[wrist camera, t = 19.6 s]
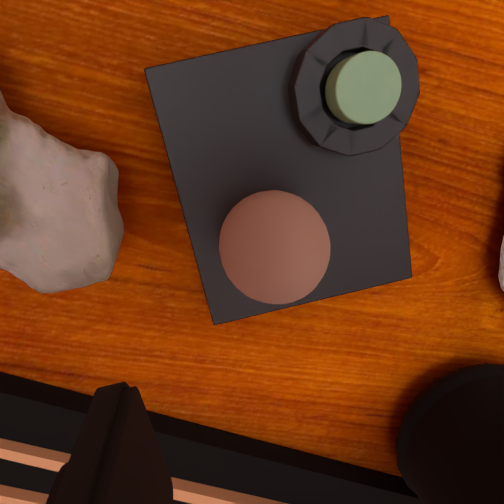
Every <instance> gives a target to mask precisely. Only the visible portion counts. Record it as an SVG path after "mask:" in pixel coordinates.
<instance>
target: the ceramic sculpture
mask: <svg viewBox="0 0 504 504" xmlns="http://www.w3.org/2000/svg"><path fill="white" fill-rule="evenodd" d="M118 176H119V173H118V168H117V167H116V165H115V163H114V162H113V161H112V160H111V159H110V157H109V156H107V155H106V154H104V153H102V152H93V151H89V150H79V149H76V148H74V147H72V146H71V145H69V144H67V143H64V142H62V141H60V140H59V139H57V138H55V137H54V136H52V135H50V134H48V133H46V132H45V131H44V130H43V129H42V127H41V126H39V125H38V124H35V123H33V122H32V121H31V120H30V119H29V118H28V117H25V116H22V115H18V114H16V113H14V112H13V111H11V110H10V109H9V107H8V106H7V104H6V102H5V100H4V98H3V95H2V92H1V90H0V269H4V270H7V271H9V272H10V273H12V274H13V275H14V276H15V277H17V278H18V279H20V280H22V281H23V282H25V283H26V284H27V285H28V286H29V287H30V288H33V289H35V290H36V291H38V292H40V293H55V292H60V291H64V290H69V289H76V288H82V287H86V286H88V285H91V284H94V283H97V282H103V281H105V280H107V279H108V278H109V277H110V275H111V273H112V271H113V268H114V264H115V261H116V259H117V255H118V252H119V248H120V244H121V242H122V239H123V234H124V223H123V220H122V217H121V214H120V212H119V209H118Z"/></svg>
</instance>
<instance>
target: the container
mask: <svg viewBox="0 0 504 504" xmlns="http://www.w3.org/2000/svg"><path fill="white" fill-rule="evenodd" d="M396 453H397V465H398V469H399V471H400V473H401V475H402V477H403V479H404V480H405V482H406V484H407V486H408V487H409V488H410V489H411V490H412V491H413V492H415V493H416V494H417V495H418V497H419V499H420V501H421V502H422V504H504V365H498V364H487V363H484V364H479V365H474V366H469V367H464V368H460V369H457V370H455V371H453V372H451V373H449V374H447V375H445V376H443V377H441V378H439V379H437V380H435V381H434V382H433V383H432V384H430V385H429V386H428V387H427V388H426V389H425V390H424V391H422V392H421V393H420V394H419V395H418V396H417V397H416V398H415V400H414V401H413V403H412V404H411V406H410V407H409V409H408V410H407V412H406V413H405V415H404V416H403V418H402V421H401V425H400V428H399V431H398V435H397V438H396Z"/></svg>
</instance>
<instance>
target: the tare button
mask: <svg viewBox="0 0 504 504" xmlns="http://www.w3.org/2000/svg"><path fill="white" fill-rule="evenodd" d="M400 93H401V76H400V72H399V70H398V67H397V66H396V64H395V63H394V61H393V60H392V59H391V58H390V57H388V56H387V55H385V54H383V53H381V52H378V51H364V52H361V53H358V54H355V55H353V56H350V57H347V58H345V59H343V60H342V61H340V62H339V63H338V64H337V65H336V66H335V67H334V68H333V69H332V71H331V72H330V74H329V76H328V78H327V81H326V86H325V98H326V102H327V105H328V107H329V109H330V111H331V112H332V114H333V115H334V116H335V117H337V118H338V119H339V120H341V121H343V122H346V123H352V124H373V123H376V122H378V121H381V120H382V119H384V118H385V117H386V116H388V115H389V114H390V113H391V112H392V110H393V109H394V108H395V106H396V104H397V102H398V100H399V97H400Z"/></svg>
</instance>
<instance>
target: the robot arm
mask: <svg viewBox="0 0 504 504" xmlns="http://www.w3.org/2000/svg"><path fill="white" fill-rule="evenodd" d="M46 504H173V484H172V479H171V476H170V474H169V471H168V468H167V465H166V463H165V460H164V457H163V455H162V452H161V449H160V447H159V444H158V441H157V438H156V436H155V433H154V430H153V428H152V425H151V422H150V420H149V417H148V414H147V411H146V409H145V406H144V403H143V401H142V398H141V395H140V393H139V390H138V388H137V387H135V386H134V387H130V388H129V386H128V384H127V383H126V382H121V383H117V384H113V385H108V386H104V387H100V388H98V389H97V390H96V392H95V394H94V397H93V399H92V402H91V404H90V407H89V410H88V412H87V415H86V417H85V420H84V423H83V425H82V428H81V430H80V433H79V436H78V438H77V441H76V443H75V446H74V449H73V451H72V454H71V457H70V459H69V462H68V463H65V464H64V465H63V466H62V467H61V468H60V470H59V472H58V474H57V476H56V479H55V481H54V484H53V486H52V489H51V491H50V494H49V496H48V499H47V501H46Z"/></svg>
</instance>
